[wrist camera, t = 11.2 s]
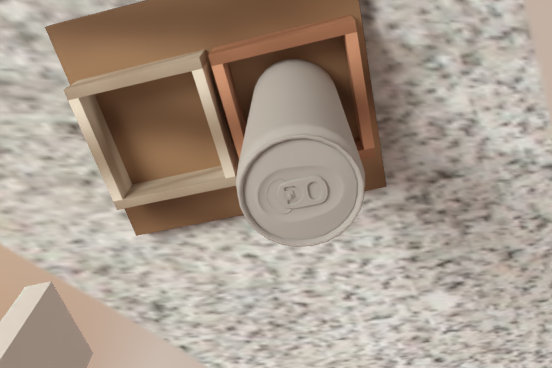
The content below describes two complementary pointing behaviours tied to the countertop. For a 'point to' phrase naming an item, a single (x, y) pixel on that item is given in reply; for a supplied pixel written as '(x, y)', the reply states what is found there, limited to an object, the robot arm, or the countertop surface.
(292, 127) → the beverage can
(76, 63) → the socket board
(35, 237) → the countertop surface
